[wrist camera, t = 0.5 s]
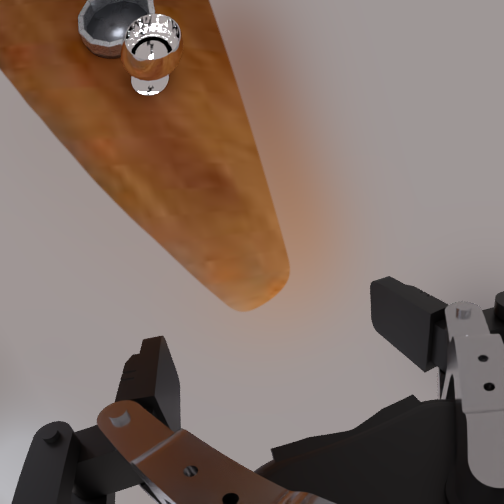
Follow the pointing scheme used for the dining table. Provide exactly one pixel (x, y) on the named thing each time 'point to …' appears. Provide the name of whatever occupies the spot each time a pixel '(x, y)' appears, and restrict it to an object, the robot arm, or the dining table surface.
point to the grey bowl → (109, 23)
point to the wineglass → (151, 52)
